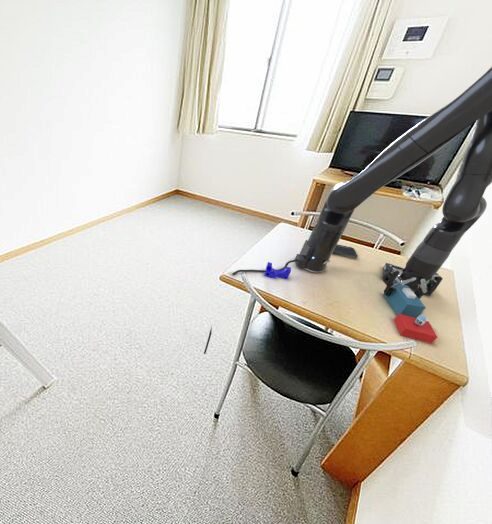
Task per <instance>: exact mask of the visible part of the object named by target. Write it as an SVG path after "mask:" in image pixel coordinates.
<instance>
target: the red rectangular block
mask: <svg viewBox="0 0 492 524" xmlns="http://www.w3.org/2000/svg"><path fill="white" fill-rule="evenodd" d="M393 322H394V324H395V326H396V328H397V331H398V333H399V335H400V336H403V337H405V338H409V339H412V340H416V341H419V342H423V343H427V344H433V343H434V342H435V341H436V340H437V339H438V335H437V333H436V332H435V330H434V328H433V326H432V324H431V323H430V321H428V320H427V317H426V315H419V316H418V317H417V318H414V317H410V316H406V315H402V314H398V315H397V314H396V316H395V317H394V318H393Z"/></svg>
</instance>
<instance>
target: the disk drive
mask: <svg viewBox="0 0 492 524" xmlns="http://www.w3.org/2000/svg"><path fill="white" fill-rule="evenodd" d="M393 267H395V268H396V269H398V270H402V269H404V268H405V267H401V266H398V265H395V264H392V263H388V262H385V264H384V266H383V268H382V275H381V279H382V280H383V279H384V278H385V277H386V275H387V274H388V273H389V271H390V270H391V269H392V268H393ZM400 281H403V280H402V278H401V279H400ZM429 281H430V280H428V281H426V285H427V283H428V282H429ZM395 283H397V282H395ZM404 285H407V286H408V287H409V288H410V289H411V290H412V291H413V292H415V291H416V289H417V288H418V285H417V286H416V285H413V284H404ZM431 287H432V286H431ZM418 289H419V288H418ZM433 293H434V292H430V291H429V292H426V293H424V294H423V295H426V296H432V294H433Z"/></svg>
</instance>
